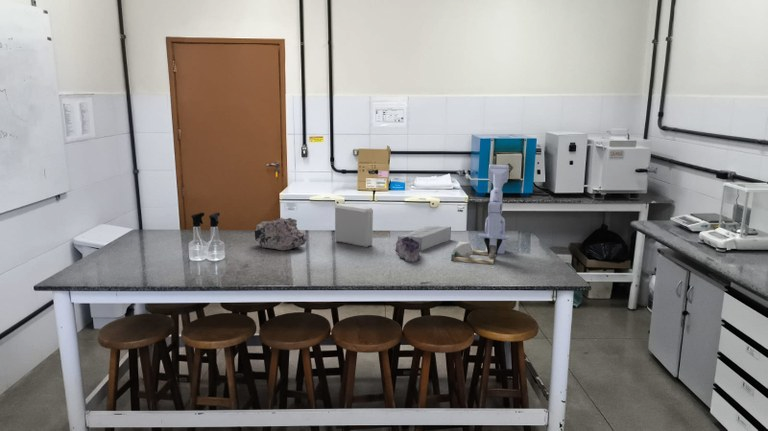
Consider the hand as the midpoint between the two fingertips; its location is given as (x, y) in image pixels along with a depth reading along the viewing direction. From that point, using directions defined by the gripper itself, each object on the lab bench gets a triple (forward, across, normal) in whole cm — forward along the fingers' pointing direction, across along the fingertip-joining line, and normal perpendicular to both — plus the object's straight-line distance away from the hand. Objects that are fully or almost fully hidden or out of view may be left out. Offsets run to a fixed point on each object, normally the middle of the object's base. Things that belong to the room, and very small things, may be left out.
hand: (492, 253), depth 270 cm
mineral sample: (+3, -106, -9) cm, 107 cm away
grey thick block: (+3, -72, +8) cm, 73 cm away
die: (+3, -14, -2) cm, 14 cm away
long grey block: (+4, -37, +21) cm, 42 cm away
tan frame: (+3, -9, 0) cm, 9 cm away
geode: (+3, -39, -7) cm, 40 cm away
